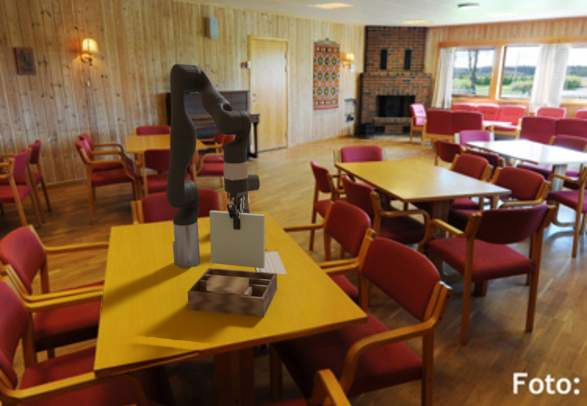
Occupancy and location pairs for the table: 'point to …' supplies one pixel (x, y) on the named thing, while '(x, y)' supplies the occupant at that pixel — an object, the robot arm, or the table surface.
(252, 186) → the rubber mallet
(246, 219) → the tall sheet
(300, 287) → the table surface
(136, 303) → the table surface
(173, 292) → the table surface
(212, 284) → the offcut top
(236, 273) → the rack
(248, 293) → the offcut middle
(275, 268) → the baseboard molding
